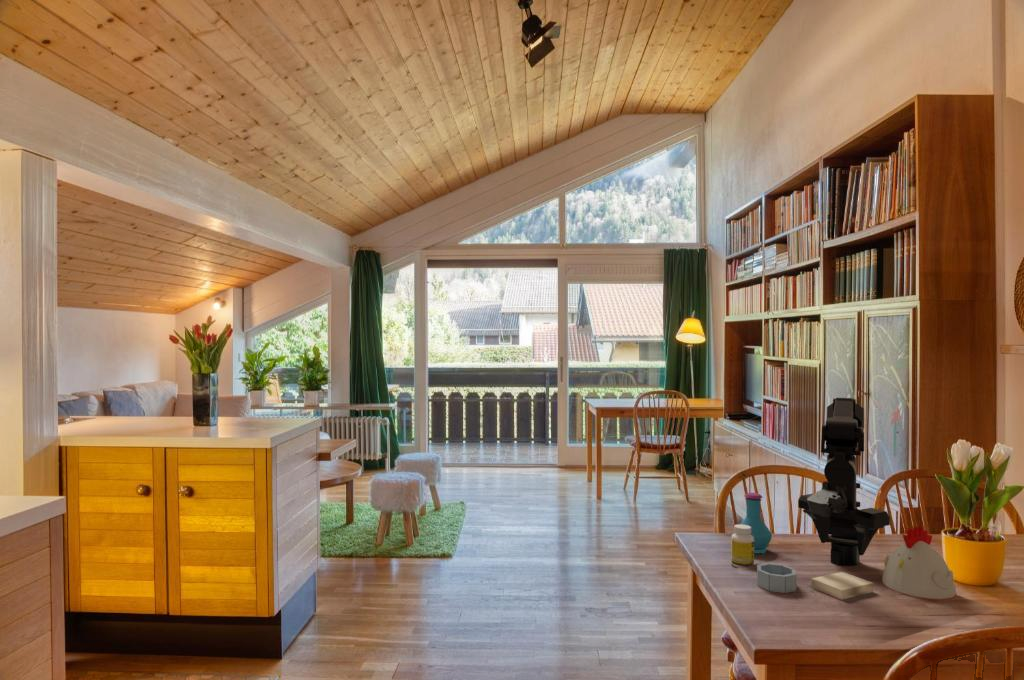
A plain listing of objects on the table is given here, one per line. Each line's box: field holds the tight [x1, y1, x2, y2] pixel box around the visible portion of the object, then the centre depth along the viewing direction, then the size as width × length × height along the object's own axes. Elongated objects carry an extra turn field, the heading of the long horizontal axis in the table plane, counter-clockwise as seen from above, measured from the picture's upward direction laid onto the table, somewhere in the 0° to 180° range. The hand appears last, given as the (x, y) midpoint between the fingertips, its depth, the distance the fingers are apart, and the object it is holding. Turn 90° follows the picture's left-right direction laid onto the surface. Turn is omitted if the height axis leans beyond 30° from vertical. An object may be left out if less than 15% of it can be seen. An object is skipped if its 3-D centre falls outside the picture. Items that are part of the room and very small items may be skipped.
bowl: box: [756, 562, 797, 594], centre depth 142 cm, size 8×8×5 cm
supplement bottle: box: [730, 523, 755, 569], centre depth 159 cm, size 5×5×10 cm
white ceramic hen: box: [881, 525, 957, 601], centre depth 141 cm, size 14×14×15 cm
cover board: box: [810, 571, 874, 601], centre depth 139 cm, size 10×8×2 cm
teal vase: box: [740, 492, 772, 554], centre depth 171 cm, size 9×9×15 cm
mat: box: [806, 584, 879, 603], centre depth 139 cm, size 10×10×2 cm
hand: (841, 548), depth 139 cm, fingers open, 9 cm apart
